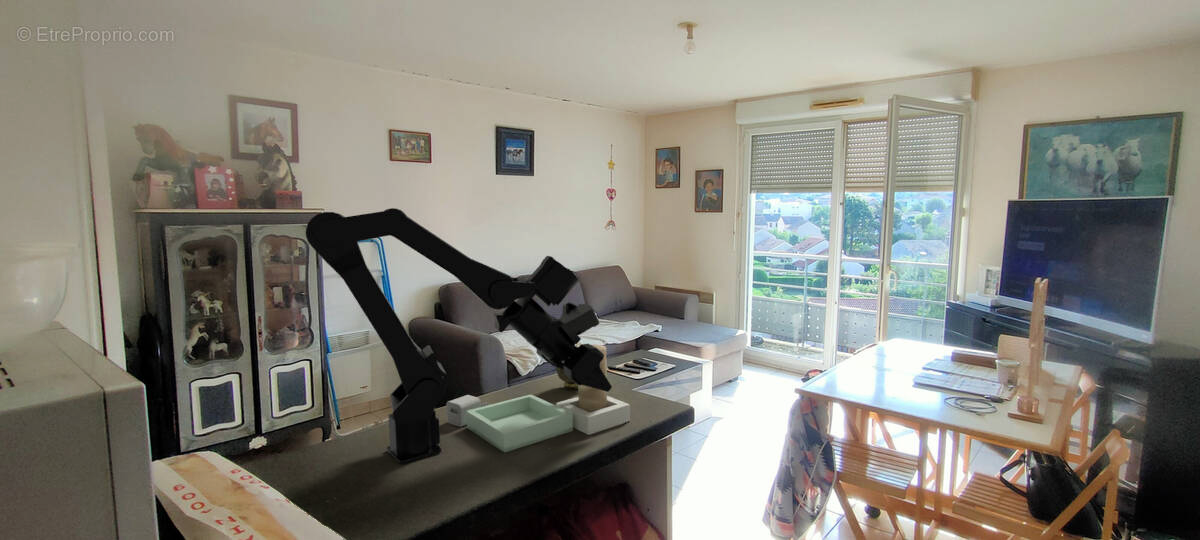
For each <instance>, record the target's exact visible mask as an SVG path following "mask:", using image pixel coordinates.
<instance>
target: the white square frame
mask: <svg viewBox="0 0 1200 540" xmlns="http://www.w3.org/2000/svg"><path fill="white" fill-rule="evenodd" d="M555 406H557V407H560V408H562V409H564V410H566V411H568V412H570V413H573V429H575V430H578V431H579V432H582V433H584V434H586V435H588V436H589V435H592V434H593V435H594V434H595V433H599V432H601V431H605V430H608V429H611V428H613V427H617V426H619V425H622V424H625V422H626V423H629V422H630V421H631V413H630V412H631V408H630V407H631V405H630V403H626V402H625V401H621V400H619V399H616V398H614V397H611V396H609V395H607V408H604V409H600V410H597V411H594V412H591V413H589V412H587V411H585V410H583V409H580V408H579V401H578V396H577V397H573V398H569V399H565V400H562V401H558V402H556V405H555ZM628 421H629V422H628Z"/></svg>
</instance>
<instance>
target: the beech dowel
mask: <svg viewBox="0 0 1200 540" xmlns="http://www.w3.org/2000/svg"><path fill="white" fill-rule="evenodd" d="M591 345H592V346H594V347H596V348H597V349H598V350H599V351H600V352H602V353H603V354H604V359H603V360H602V361H601V362H600V368H601V370H602V372H603V373H604V375H605V376H606V378H607V367H608V366H607V347H606V346H605V345H601V344H591ZM577 347H578V348H579V346H577ZM607 379H608V378H607ZM577 391H578V393H577V394H578V396H577V397H578V401H579V408H580V409H583V410H585V411H587V412H589V413H591V412H594V411H597V410H600V409H604V408H607V396H608V392H606V391H603V390H599V389H596V388H592V387H588V386H584V385H580V386H579V385H578V389H577Z"/></svg>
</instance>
